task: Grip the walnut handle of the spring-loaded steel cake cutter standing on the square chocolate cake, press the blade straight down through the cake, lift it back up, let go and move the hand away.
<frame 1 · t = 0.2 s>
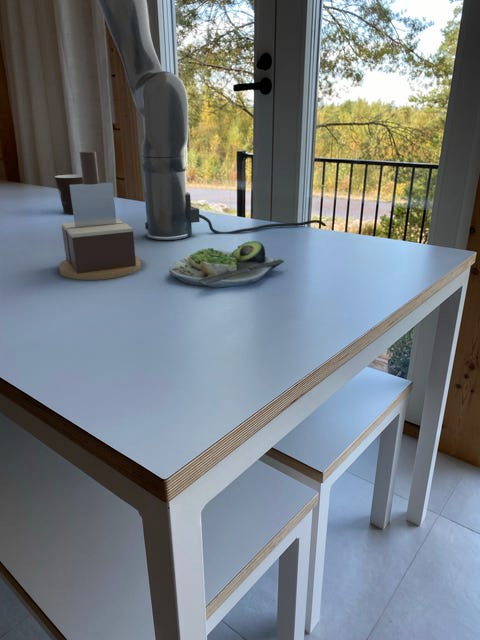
salad plate: (226, 273, 82), on the table
cake: (101, 267, 85), on the table
cake cutter: (92, 189, 79), point 14 cm above the table, slide at 0.0 cm
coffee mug: (77, 212, 137), on the table
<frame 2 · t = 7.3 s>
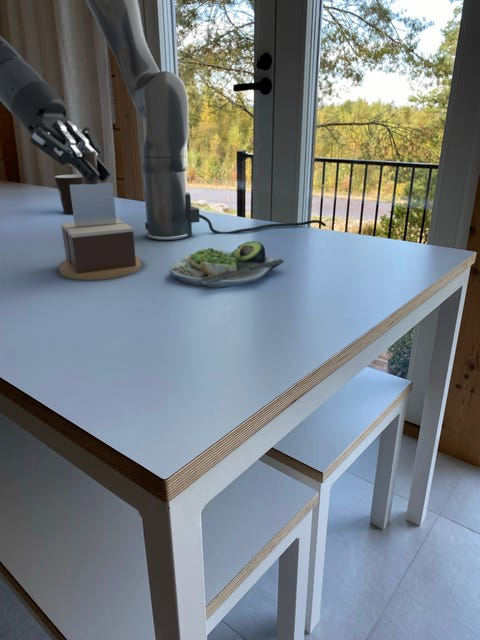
hand: (101, 178, 78), 16 cm above the table, tool tilted 45°, fingers closed on cake cutter, 2 cm apart
cake cutter: (92, 189, 79), point 14 cm above the table, slide at 0.0 cm, touching gripper
everything else where it was.
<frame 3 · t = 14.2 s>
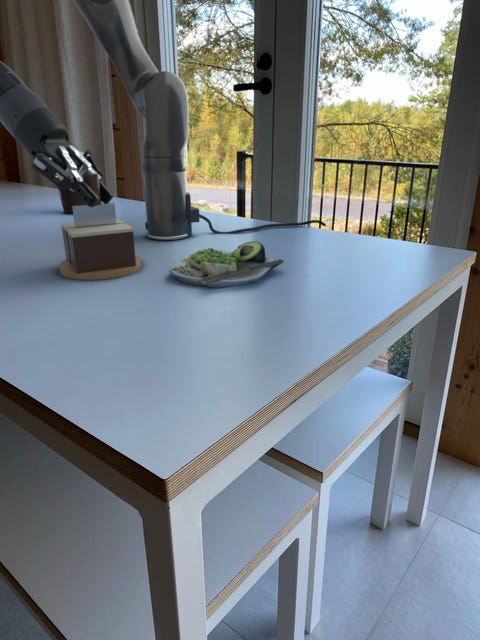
hand: (102, 201, 79), 12 cm above the table, tool tilted 45°, fingers open, 3 cm apart
cake cutter: (94, 210, 81), point 10 cm above the table, slide at 3.4 cm, touching gripper
everything else where it was.
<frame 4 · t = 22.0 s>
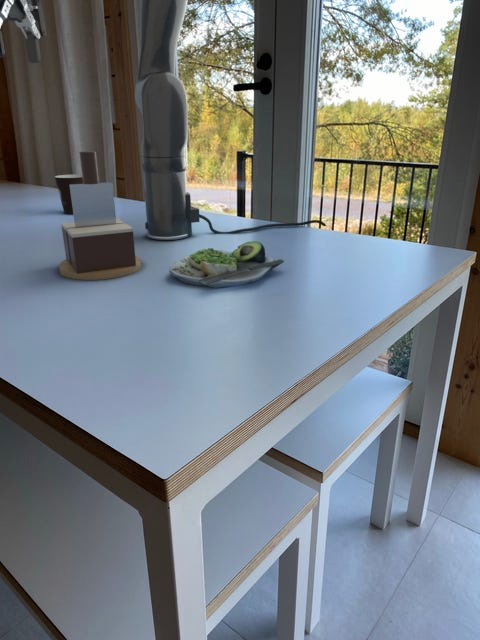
hand: (17, 59, 83), 34 cm above the table, tool pointing down, fingers open, 8 cm apart
cake cutter: (92, 189, 79), point 14 cm above the table, slide at 0.0 cm
everything else where it was.
at the end: cake cutter pulled out 5.4 cm at the most during the clip, back to where it started at the end; cake cutter slide at 0.0 cm; the gripper is holding nothing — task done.
